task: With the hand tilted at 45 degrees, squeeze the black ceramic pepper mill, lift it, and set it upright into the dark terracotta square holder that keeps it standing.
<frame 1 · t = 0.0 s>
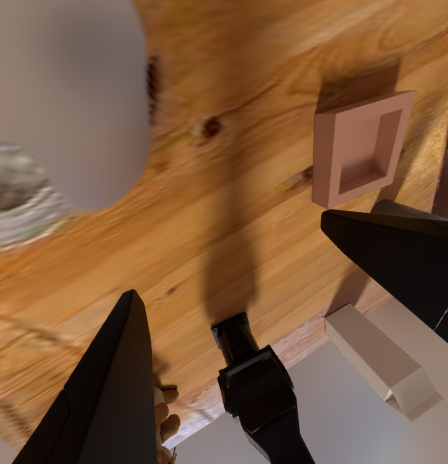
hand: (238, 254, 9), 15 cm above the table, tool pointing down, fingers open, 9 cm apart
pepper mill: (379, 213, 36), on the table
stuffed squirrel: (134, 396, 36), on the table
terracotta holder: (347, 151, 27), on the table
milk carton: (336, 317, 49), on the table
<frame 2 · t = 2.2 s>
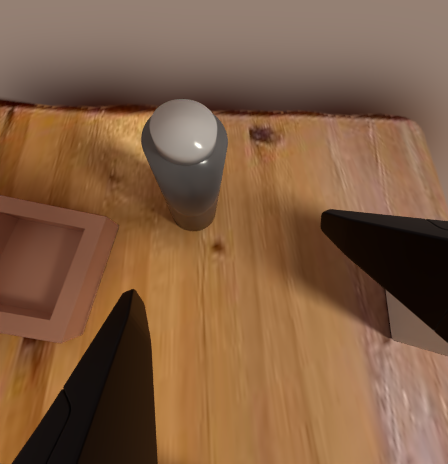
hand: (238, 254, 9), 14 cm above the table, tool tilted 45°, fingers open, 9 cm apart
pepper mill: (194, 210, 24), on the table
terracotta holder: (47, 265, 21), on the table
milk carton: (413, 306, 24), on the table
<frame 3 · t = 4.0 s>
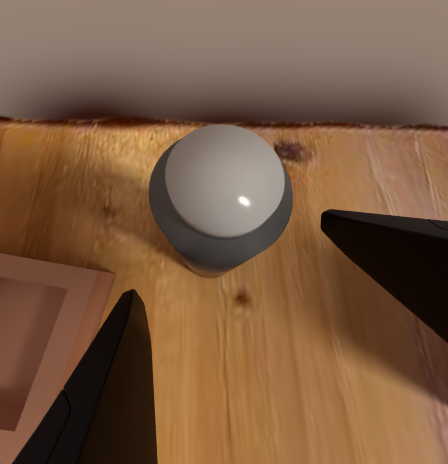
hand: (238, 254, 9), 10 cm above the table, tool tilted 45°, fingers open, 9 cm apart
pepper mill: (210, 250, 19), on the table
terracotta holder: (19, 333, 15), on the table
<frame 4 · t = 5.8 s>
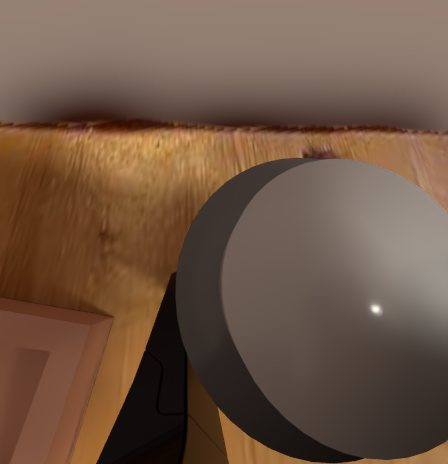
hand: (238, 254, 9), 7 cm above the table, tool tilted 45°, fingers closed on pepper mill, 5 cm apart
pepper mill: (230, 284, 15), on the table, touching gripper
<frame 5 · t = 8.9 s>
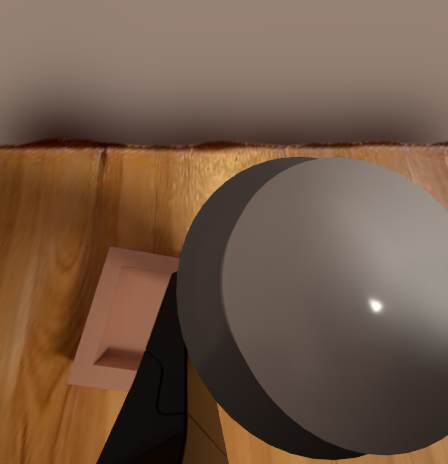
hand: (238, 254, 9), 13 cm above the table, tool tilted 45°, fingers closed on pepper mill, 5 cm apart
pepper mill: (231, 284, 15), point 7 cm above the table, touching gripper
terracotta holder: (161, 314, 20), on the table
when the fingers open (8 cm above the table, at t = 11.7 s): pepper mill drops 1 cm, resting on terracotta holder.
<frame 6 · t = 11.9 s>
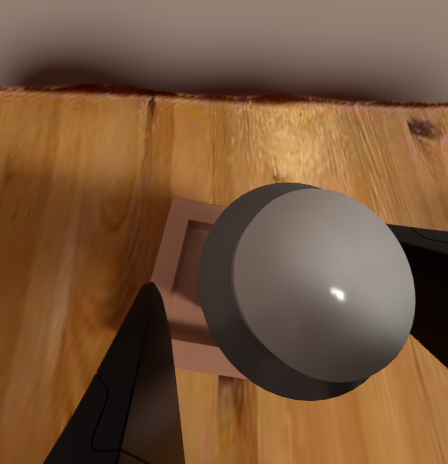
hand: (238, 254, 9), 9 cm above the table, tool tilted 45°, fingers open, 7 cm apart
pepper mill: (228, 285, 16), point 1 cm above the table, touching terracotta holder
terracotta holder: (227, 284, 17), on the table
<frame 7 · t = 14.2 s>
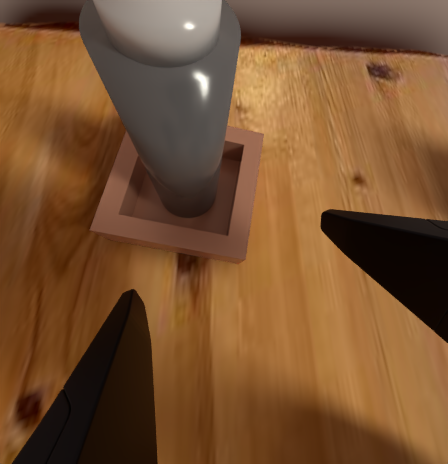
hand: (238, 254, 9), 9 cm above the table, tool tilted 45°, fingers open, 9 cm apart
pepper mill: (188, 191, 18), point 1 cm above the table, touching terracotta holder
terracotta holder: (188, 193, 19), on the table
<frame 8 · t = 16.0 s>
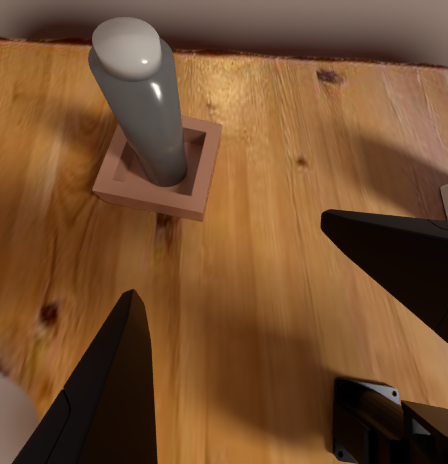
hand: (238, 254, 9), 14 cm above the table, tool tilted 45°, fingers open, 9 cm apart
pepper mill: (166, 167, 24), point 1 cm above the table, touching terracotta holder
terracotta holder: (166, 170, 25), on the table
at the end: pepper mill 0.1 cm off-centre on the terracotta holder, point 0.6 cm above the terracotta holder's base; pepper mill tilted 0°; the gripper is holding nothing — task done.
